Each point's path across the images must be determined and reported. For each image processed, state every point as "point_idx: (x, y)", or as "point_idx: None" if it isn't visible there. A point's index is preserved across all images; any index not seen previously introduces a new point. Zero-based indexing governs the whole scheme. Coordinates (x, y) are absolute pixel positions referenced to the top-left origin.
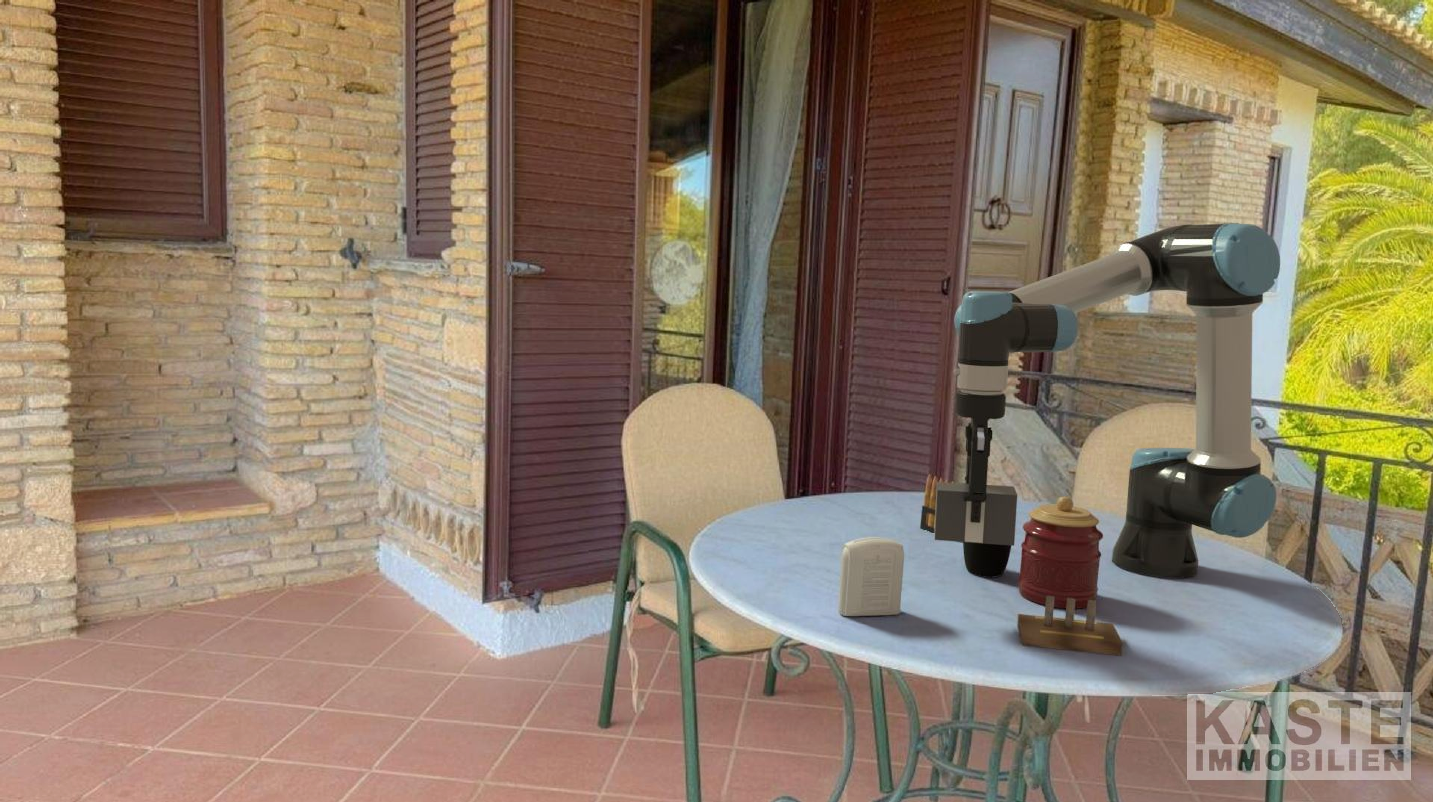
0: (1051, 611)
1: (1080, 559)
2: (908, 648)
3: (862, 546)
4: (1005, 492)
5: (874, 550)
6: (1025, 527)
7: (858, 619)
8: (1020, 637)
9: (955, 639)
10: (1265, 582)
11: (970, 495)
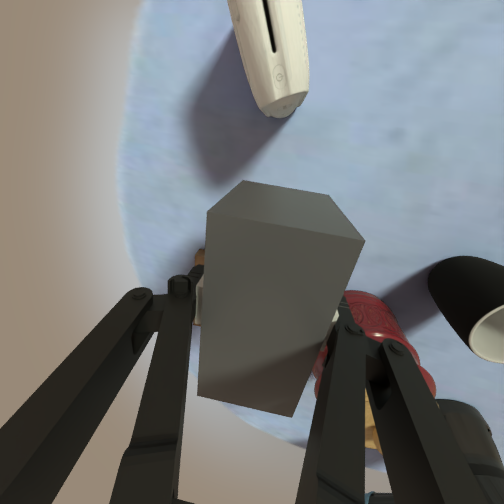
0: None
1: (312, 370)
2: (151, 115)
3: None
4: (218, 384)
5: (231, 9)
6: None
7: None
8: None
9: (197, 182)
10: (379, 456)
11: (124, 297)
